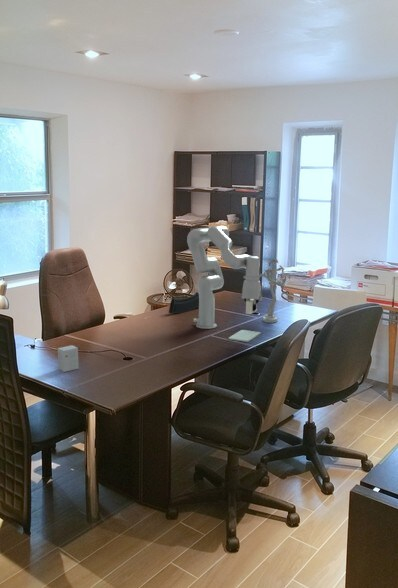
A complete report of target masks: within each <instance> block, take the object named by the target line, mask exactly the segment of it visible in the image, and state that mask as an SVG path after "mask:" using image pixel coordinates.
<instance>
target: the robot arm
mask: <svg viewBox="0 0 398 588" xmlns="http://www.w3.org/2000/svg"><path fill="white" fill-rule="evenodd" d="M186 238H187V239H186V243H187V246H188V248H189V250H190V254H191V257H192V261H193V264H194V268H195V270H196V272H197V274H200V275H202V276H200V277H199V279H198V280H197V289H198V294H199V307H198V318H197V317H196V318H195V317H194V318H193V320H192V321H193V322H194V323H196V324H195V326H196V328H199V329H203V330H208V329H209V330H213V329H215V328H217V326H218V325H217V323H216V322H215V305H216V304H215V303H216V302H215V294H214V293H213V291H215V290H219V289H222V287H223V286H224V284H225V280H224V275H223V271H222V268H221V266H220V265H221V264H220V262H219V260H218V259H217V258H216V257H214V256H208V255H207V253H206V249H205V247H204V245H202V244H201V243H208V242H212V243H213V244H214V245H215V246H216V247H217V249H219V250H220V254H221V258H222V260H223V262H225V264H226V265H228V267H230V268H231V269H233V270H239V269H240V270H241V269H245V275H243V279H245V280H244V281H243V284H242V291H241V297H240V299H242V300H244V302H245V303H246V301H248V300H250V299H254V303H253V311H255V310H256V304H257V305H258V303H259V302H261V301H263V297H262V286H261V285H262V284H261V281H260V278H259V275H260V257H258V256H257V255H256V256H255V255H254V256H253V255H249V254H244V253H243V254H237V255H235V254H234V253H233V252H232V251H231V248H232V246H233V241H232V239H231V238H230V231H229V229H228V227H227V226H225V225H214V226H210V227H200V228H199V227H198V228H194V229H192V230H190V231H189V232H188V234H187V237H186ZM204 274H206V275H204ZM255 312H256V311H255Z"/></svg>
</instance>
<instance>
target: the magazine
mask: <svg viewBox="0 0 398 588" xmlns="http://www.w3.org/2000/svg"><path fill="white" fill-rule="evenodd" d="M195 309H199V292H195V293H194V294H192V295H189V296H186V297H183V298H179V299H176V298H171V301H170V305H169V309H168V314H182V312H183V313H186V311H187V312H190V310H191V311H193V310H195Z"/></svg>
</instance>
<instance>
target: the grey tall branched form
mask: <svg viewBox="0 0 398 588" xmlns="http://www.w3.org/2000/svg"><path fill="white" fill-rule="evenodd" d="M275 263H278V264H279V260H278V259H277V258H275V259H273V258H272V260H270V261H268V266H269V267H270V268H268V269H262V270H263V272H264V273H259V279H260V278H262V277H264V278H265V279H266V280H267V281H268V282H269V283H268V284H269V291H270V293H271V296H272V297H271V298H272V299H271V301H270V303H269V304H268V306H267V313H266V314H265V316H263V317H262V322H264V323H269V324H271V323H273V324H274V323H277V322H278V317H276V315H274V309H275V305H276V302H277V296H276V294H275V292H274V290H277V289H278V288H277V286H279V287H283V286H284V285H285V284H286V282H287V278H288V279H289V280H290V279H291V275H290V274H287V273H286V274H285V273H284V272H285V271H284V270H285V269H284V267H283V266H282V265H279V267H278V268H276V264H275ZM271 264H272V269H271ZM279 271H281V274H280V279H279V280H278V279H277V278H276V276H277V275H278V273H279ZM277 280H278V281H277ZM257 314H261V315H262V314H263V313H261V312H260V313H257Z"/></svg>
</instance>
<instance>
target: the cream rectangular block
mask: <svg viewBox="0 0 398 588" xmlns="http://www.w3.org/2000/svg"><path fill="white" fill-rule="evenodd" d="M253 303H254V299H250V300H248V301H246V302H245V314H246V315H251V314H254V313H255V312H257V310H258V303H257V304H256V310H255V311H253Z"/></svg>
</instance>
